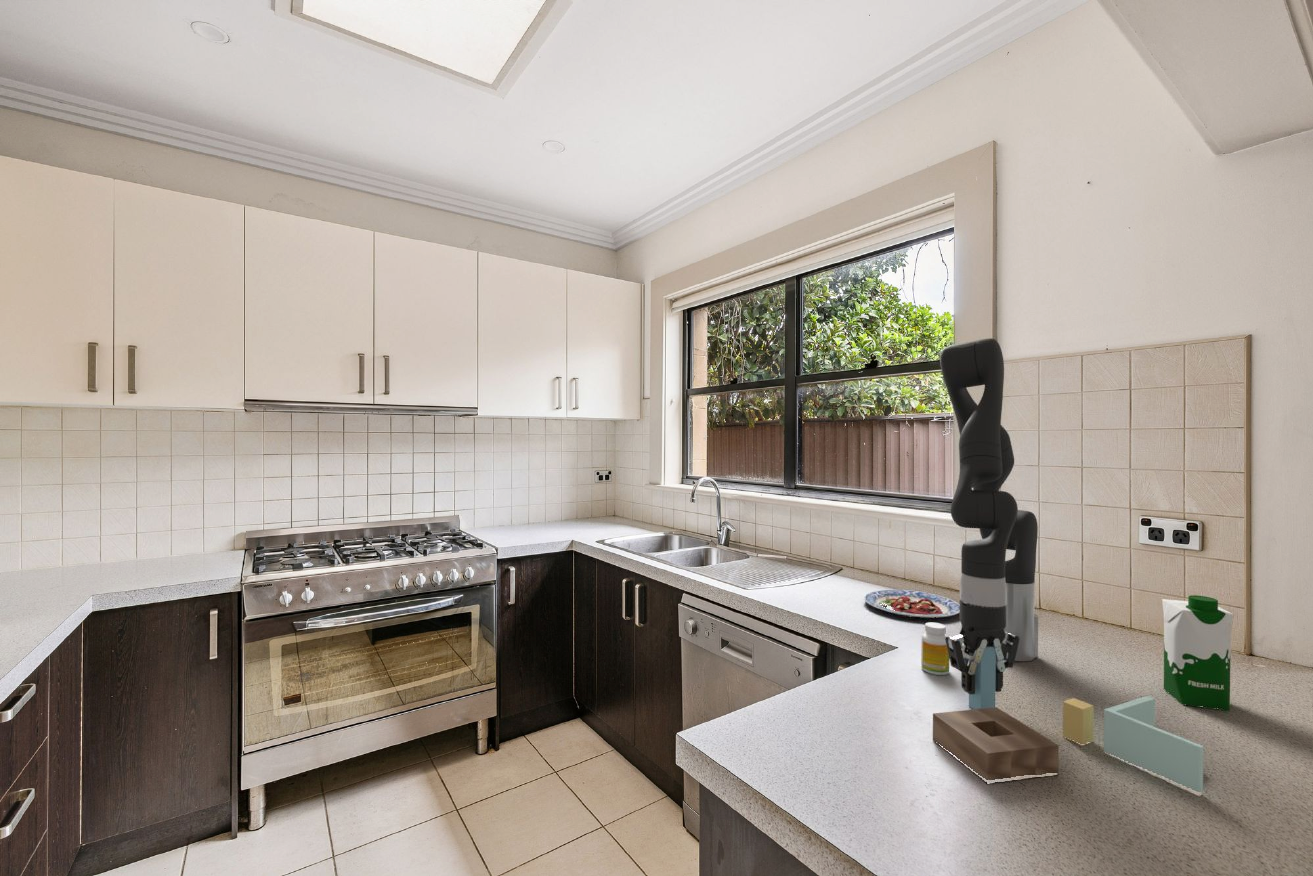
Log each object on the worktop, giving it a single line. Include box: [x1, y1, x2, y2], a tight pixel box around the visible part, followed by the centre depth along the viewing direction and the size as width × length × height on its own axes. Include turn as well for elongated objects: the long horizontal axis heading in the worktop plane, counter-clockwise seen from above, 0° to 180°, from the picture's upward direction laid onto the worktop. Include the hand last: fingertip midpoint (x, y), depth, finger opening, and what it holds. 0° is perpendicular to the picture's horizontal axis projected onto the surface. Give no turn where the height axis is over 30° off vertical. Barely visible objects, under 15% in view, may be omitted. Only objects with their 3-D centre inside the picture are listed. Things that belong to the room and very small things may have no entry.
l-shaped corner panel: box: [1103, 695, 1205, 793], centre depth 88 cm, size 12×12×8 cm
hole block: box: [932, 706, 1060, 780], centre depth 90 cm, size 12×12×4 cm
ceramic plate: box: [863, 589, 960, 619], centre depth 166 cm, size 26×26×3 cm
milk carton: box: [1161, 594, 1235, 711], centre depth 109 cm, size 9×9×20 cm
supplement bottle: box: [920, 621, 950, 676], centre depth 123 cm, size 5×5×10 cm
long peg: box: [968, 646, 996, 710], centre depth 105 cm, size 3×3×12 cm
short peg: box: [1062, 697, 1095, 744], centre depth 95 cm, size 3×3×6 cm
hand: (982, 691), depth 106 cm, fingers open, 5 cm apart
